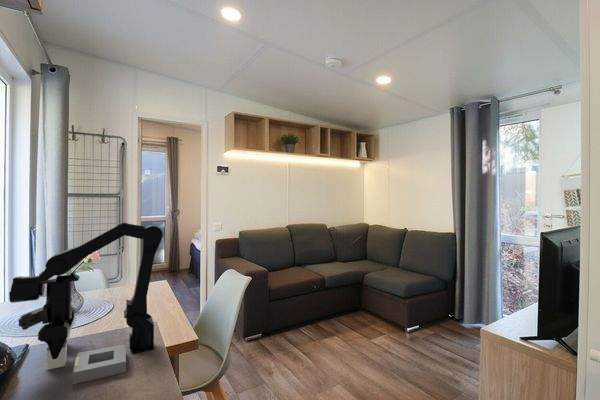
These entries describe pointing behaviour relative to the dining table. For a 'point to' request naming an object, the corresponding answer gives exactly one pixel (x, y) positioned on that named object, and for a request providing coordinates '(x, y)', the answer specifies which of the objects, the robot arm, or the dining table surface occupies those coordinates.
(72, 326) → the lightbulb
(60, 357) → the plug
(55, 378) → the dining table surface
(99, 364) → the socket
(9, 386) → the dining table surface
